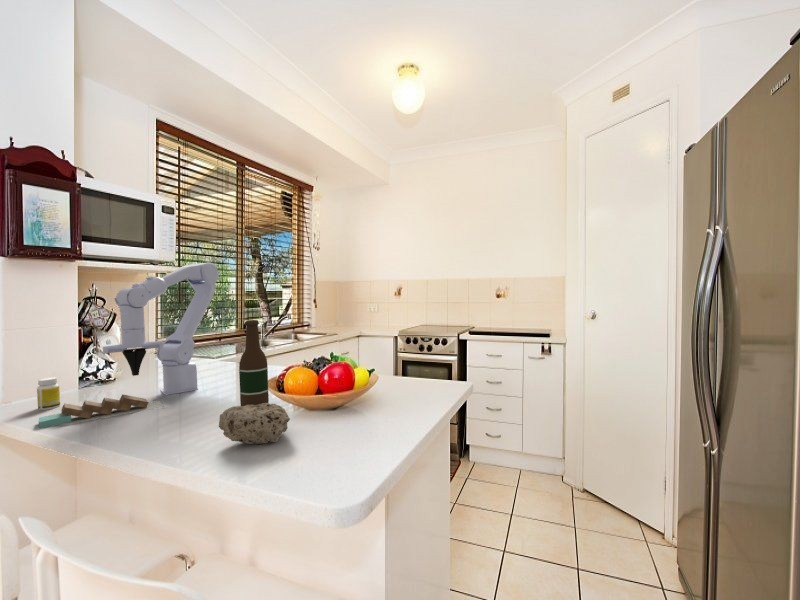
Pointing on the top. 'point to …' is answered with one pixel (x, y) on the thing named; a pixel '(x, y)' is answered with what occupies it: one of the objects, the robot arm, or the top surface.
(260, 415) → the pumice stone
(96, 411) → the tile
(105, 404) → the tile
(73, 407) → the tile
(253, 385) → the beer bottle
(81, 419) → the runner mat
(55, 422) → the tile
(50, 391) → the supplement bottle
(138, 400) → the tile
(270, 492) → the top surface
